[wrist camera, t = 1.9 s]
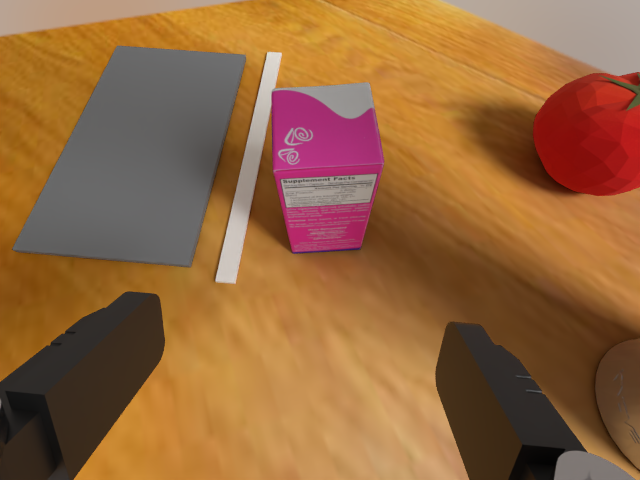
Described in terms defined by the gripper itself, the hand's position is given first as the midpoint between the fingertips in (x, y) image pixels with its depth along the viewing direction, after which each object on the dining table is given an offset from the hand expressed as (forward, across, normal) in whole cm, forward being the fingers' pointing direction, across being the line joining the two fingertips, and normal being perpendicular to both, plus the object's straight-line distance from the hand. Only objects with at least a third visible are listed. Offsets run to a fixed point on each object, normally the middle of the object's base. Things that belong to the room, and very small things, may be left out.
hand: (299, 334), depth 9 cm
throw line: (+24, +7, -2) cm, 25 cm away
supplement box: (+19, 0, +3) cm, 19 cm away
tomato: (+24, -22, -3) cm, 33 cm away
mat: (+24, +17, -2) cm, 29 cm away
